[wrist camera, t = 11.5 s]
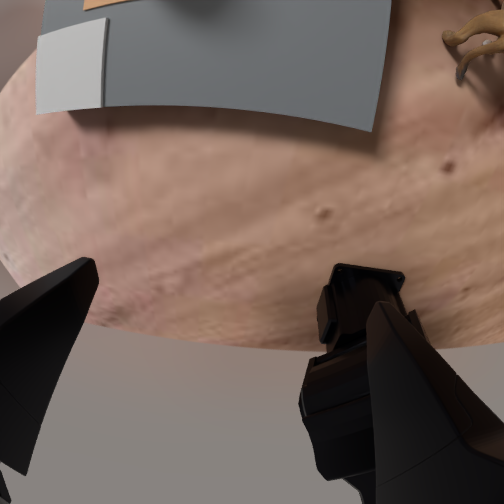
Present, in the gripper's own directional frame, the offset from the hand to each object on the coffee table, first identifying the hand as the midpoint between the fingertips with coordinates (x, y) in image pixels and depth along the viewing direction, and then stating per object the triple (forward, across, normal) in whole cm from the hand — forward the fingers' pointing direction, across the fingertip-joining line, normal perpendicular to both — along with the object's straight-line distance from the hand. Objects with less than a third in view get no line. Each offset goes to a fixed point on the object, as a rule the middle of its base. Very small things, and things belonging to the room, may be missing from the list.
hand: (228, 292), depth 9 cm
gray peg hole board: (+13, +5, -12) cm, 18 cm away
